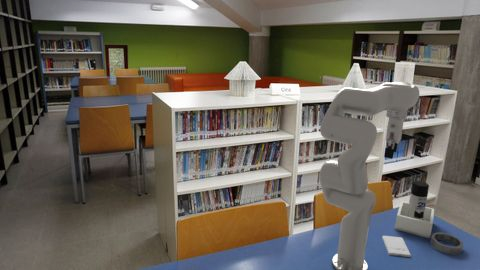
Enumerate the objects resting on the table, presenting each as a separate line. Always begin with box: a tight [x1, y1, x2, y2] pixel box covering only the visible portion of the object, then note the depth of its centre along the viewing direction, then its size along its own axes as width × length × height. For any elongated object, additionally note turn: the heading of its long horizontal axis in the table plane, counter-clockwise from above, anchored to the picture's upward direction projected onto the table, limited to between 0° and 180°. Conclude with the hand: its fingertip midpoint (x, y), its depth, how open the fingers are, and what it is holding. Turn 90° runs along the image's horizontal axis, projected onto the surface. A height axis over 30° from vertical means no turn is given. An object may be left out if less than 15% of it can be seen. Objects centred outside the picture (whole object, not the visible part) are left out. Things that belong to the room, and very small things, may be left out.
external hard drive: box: [381, 235, 412, 258], centre depth 144 cm, size 2×8×12 cm
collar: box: [430, 232, 464, 256], centre depth 145 cm, size 11×11×3 cm
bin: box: [394, 200, 435, 240], centre depth 160 cm, size 16×14×7 cm
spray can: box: [407, 180, 430, 220], centre depth 157 cm, size 7×7×20 cm
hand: (390, 154), depth 145 cm, fingers open, 9 cm apart
